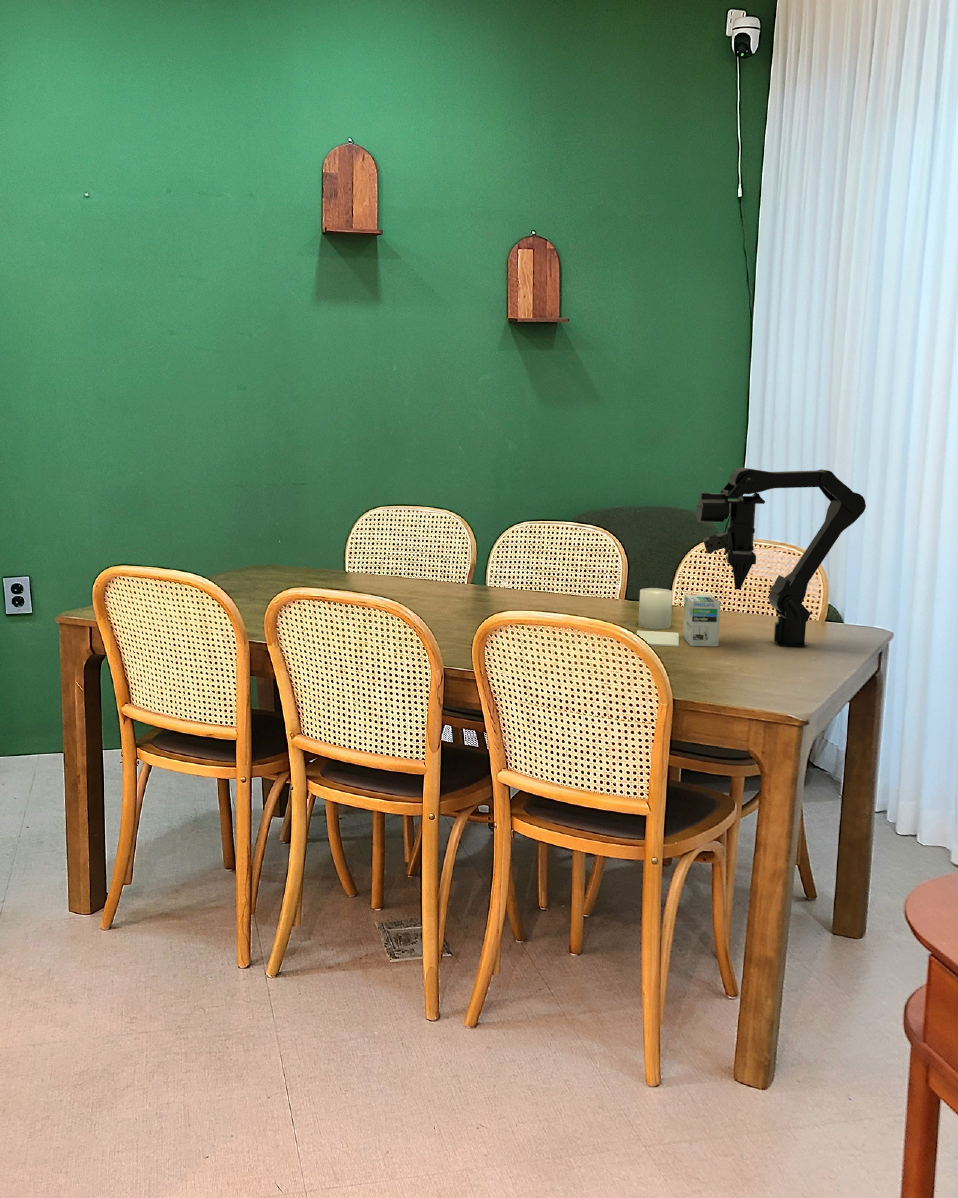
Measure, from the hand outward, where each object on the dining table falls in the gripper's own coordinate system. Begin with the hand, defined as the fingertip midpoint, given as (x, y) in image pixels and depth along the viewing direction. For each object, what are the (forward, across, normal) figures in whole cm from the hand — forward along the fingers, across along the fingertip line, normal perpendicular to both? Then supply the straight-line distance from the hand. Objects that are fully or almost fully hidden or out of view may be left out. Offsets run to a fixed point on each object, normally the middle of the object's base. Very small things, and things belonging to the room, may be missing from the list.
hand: (737, 589), depth 256 cm
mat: (+13, 0, -18) cm, 22 cm away
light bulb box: (+13, 0, -8) cm, 16 cm away
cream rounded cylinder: (+13, -16, -19) cm, 28 cm away
